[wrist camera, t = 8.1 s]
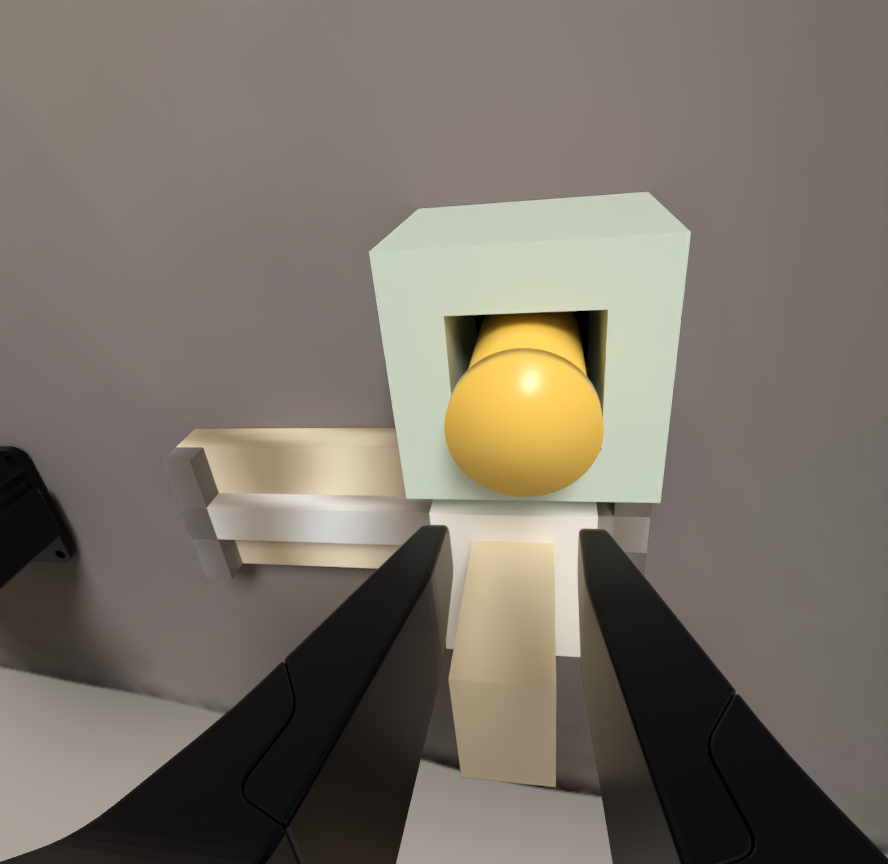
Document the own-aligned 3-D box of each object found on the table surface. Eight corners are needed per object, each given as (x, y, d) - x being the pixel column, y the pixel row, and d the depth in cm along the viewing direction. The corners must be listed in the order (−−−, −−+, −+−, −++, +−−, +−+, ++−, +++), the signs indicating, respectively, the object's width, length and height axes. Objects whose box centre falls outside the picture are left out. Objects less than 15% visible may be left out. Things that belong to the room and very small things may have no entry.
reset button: (474, 395, 18) (451, 495, 14) (467, 288, 16) (437, 361, 12) (586, 394, 18) (600, 498, 13) (590, 282, 16) (607, 356, 11)
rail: (233, 540, 27) (206, 578, 25) (195, 428, 24) (161, 460, 22) (633, 552, 24) (641, 597, 22) (644, 426, 21) (655, 463, 19)
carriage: (457, 591, 23) (420, 793, 16) (443, 464, 20) (391, 647, 13) (586, 597, 22) (603, 813, 15) (591, 464, 19) (615, 661, 12)
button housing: (440, 414, 22) (408, 510, 17) (418, 209, 18) (368, 251, 13) (631, 412, 21) (659, 515, 16) (648, 191, 17) (690, 232, 12)
